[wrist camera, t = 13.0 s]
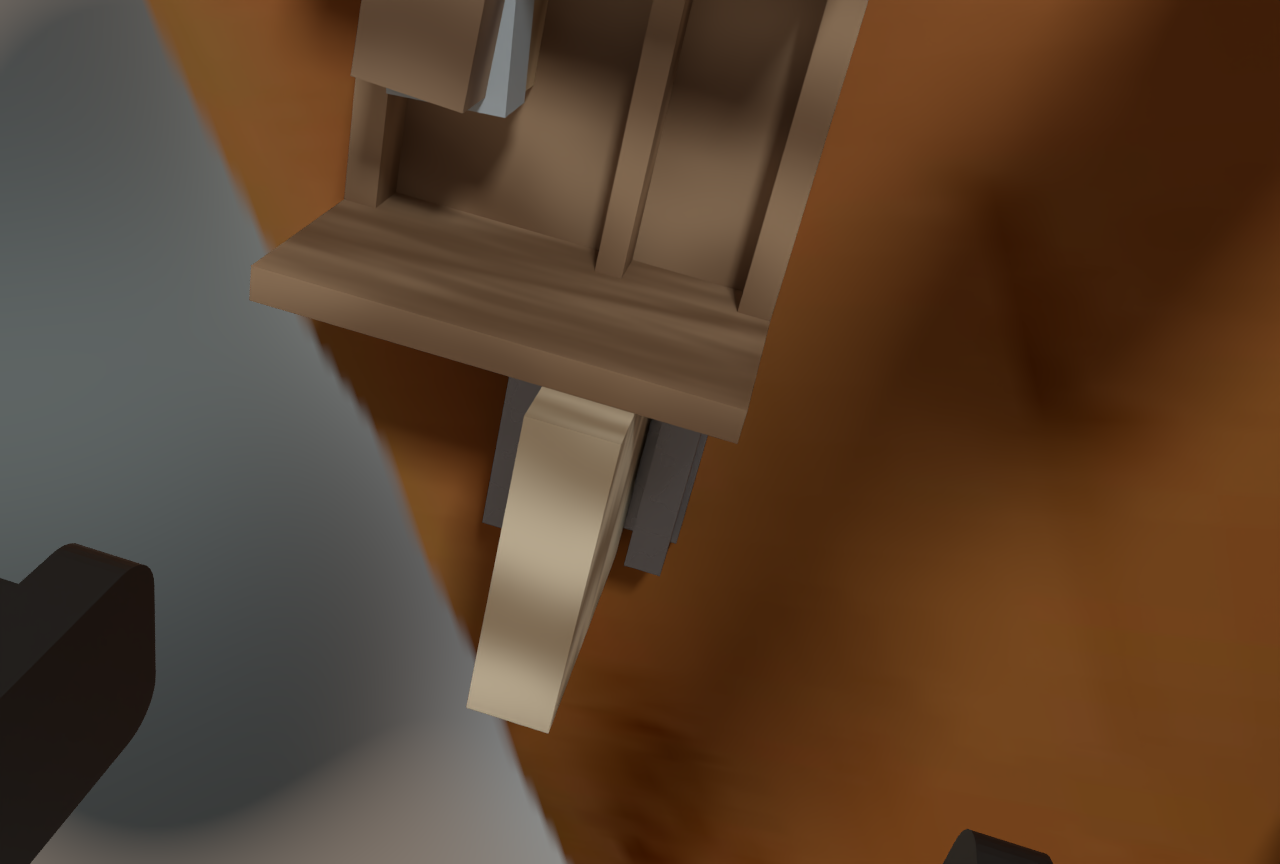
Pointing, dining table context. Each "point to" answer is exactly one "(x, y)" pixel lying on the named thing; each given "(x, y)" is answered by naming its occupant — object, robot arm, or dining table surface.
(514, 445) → the stand
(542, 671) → the beige rectangular slab
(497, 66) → the offcut
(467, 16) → the offcut
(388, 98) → the rack
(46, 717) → the robot arm
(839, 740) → the dining table surface
